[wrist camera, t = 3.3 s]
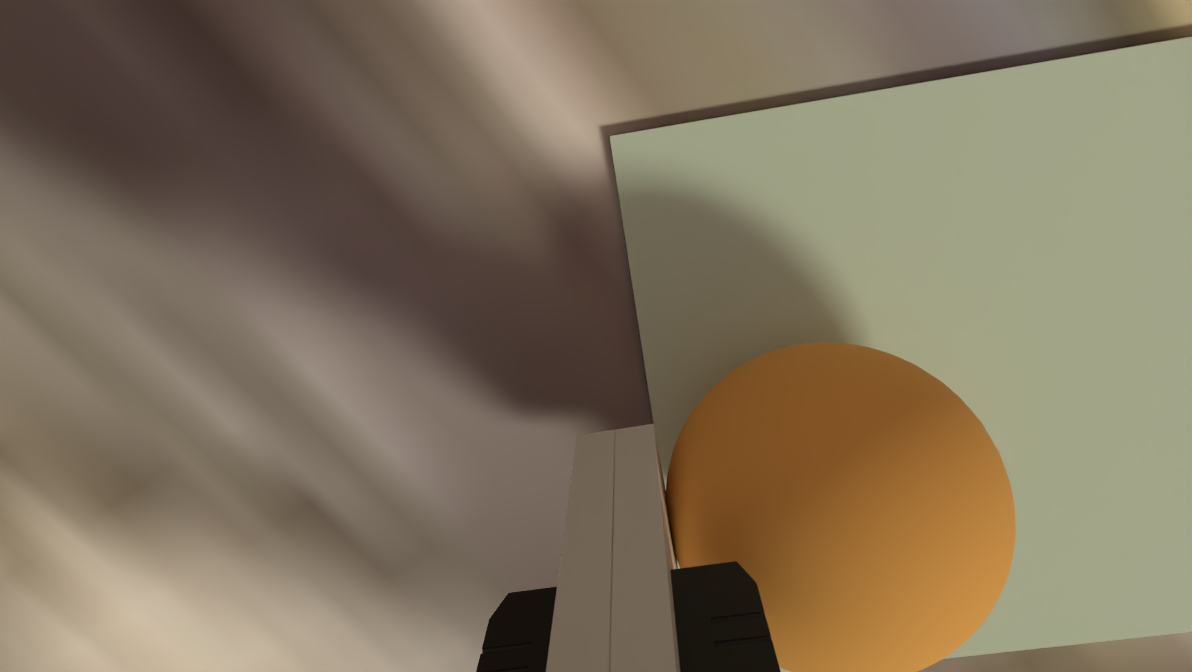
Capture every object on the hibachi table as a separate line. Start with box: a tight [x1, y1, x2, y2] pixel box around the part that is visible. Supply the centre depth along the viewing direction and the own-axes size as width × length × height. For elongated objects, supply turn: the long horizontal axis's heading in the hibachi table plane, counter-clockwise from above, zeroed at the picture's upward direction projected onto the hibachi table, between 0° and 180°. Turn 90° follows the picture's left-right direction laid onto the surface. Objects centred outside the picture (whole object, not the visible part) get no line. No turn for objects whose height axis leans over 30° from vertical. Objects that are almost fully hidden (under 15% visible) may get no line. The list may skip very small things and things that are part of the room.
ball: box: [666, 342, 1016, 672], centre depth 13 cm, size 6×6×6 cm
